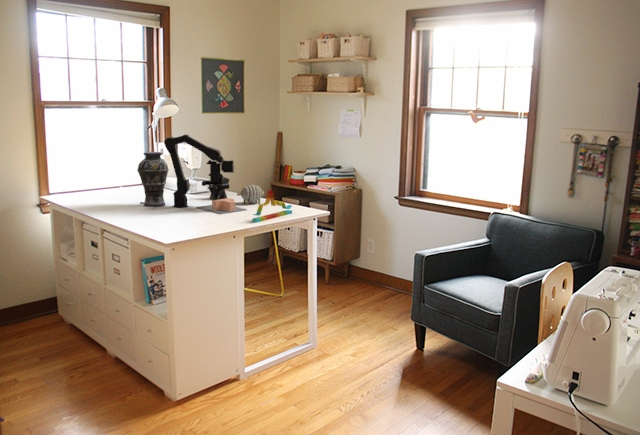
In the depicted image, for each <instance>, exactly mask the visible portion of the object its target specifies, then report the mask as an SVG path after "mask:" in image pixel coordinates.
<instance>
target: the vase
mask: <svg viewBox="0 0 640 435" xmlns="http://www.w3.org/2000/svg"><path fill="white" fill-rule="evenodd" d="M143 155H144V156H145V158H144V159H141V161H140V162H139V163H138V165H137V172H138V173H137V174H138V175H139V177H140V180H141V181H140V182H141V184H142V186H143V189H144V195H145V198H144V203H143V207H145V208H161V207H165V206H166V202H165V198H164V192H165V190H164V188H165V185H166V184H167V177H168V173H169V167H168V163H167V162H166V161H165V159H163V158H161V156H162V155H163V152H161V151H145V152H143Z"/></svg>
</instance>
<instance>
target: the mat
mask: <svg viewBox="0 0 640 435" xmlns="http://www.w3.org/2000/svg"><path fill="white" fill-rule="evenodd" d="M196 209H200V210H203V211H207V212H211V213H215V214H218V215H223V214H225V215H226V214H231V213H237V212H243V211H244V212H245V211H248V209H247V208H243V207H239V206H235V211H227V210H223V209H221V210H213V209H212V204H208V205H202V206H201V205H200V206H196Z"/></svg>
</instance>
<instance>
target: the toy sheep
mask: <svg viewBox="0 0 640 435" xmlns="http://www.w3.org/2000/svg"><path fill="white" fill-rule="evenodd" d="M236 195H237V196H241V198H242V199H243V204H246V205H249V203H257V204H258V205H259V204H261V198H263V197H264V195H265V192H264V190H263V189H261V186H259V185H255V184H249V185H246V186H243V187H242V189H241V191H240V192H237V194H236Z"/></svg>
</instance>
